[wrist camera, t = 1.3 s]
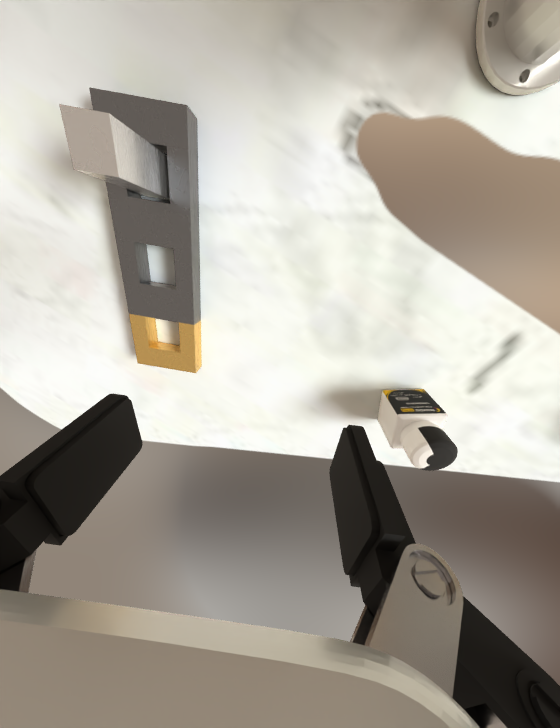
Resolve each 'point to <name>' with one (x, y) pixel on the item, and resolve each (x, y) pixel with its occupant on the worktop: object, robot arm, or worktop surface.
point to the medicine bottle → (416, 427)
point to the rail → (159, 230)
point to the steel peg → (114, 152)
